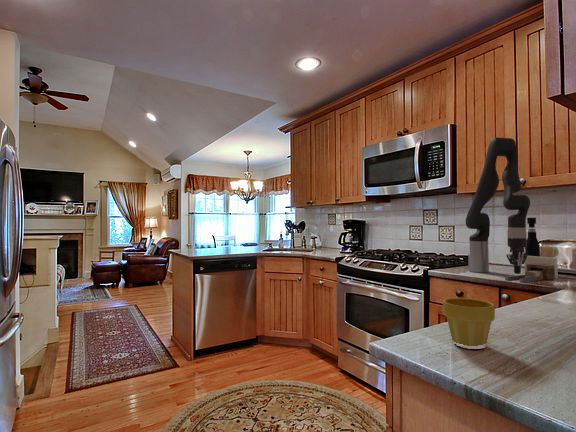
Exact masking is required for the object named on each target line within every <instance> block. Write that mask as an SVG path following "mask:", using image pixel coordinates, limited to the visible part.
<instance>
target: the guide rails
mask: <svg viewBox="0 0 576 432" xmlns="http://www.w3.org/2000/svg"><path fill="white" fill-rule="evenodd" d="M504 280H505V281H514V280H519V283H522V284H525V283H530V282H538V281H541V280H540V277H530V278H525V274H517V275H516V274H515V275H507V276H504Z"/></svg>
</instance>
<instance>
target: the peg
mask: <svg viewBox="0 0 576 432" xmlns="http://www.w3.org/2000/svg"><path fill="white" fill-rule="evenodd" d="M524 275H525V278H530V277H540V280H539V281H542V280H544V279H543V270H534V271H525V270H524Z"/></svg>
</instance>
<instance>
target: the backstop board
mask: <svg viewBox="0 0 576 432" xmlns="http://www.w3.org/2000/svg"><path fill="white" fill-rule="evenodd" d="M527 264H545V265H554V278H553V279H554V280H558V279H559V274H558V272H559V271H558V258H557V257H548V256H547V257H545V256H540V257H537V256H527V258H526V260H525V263H524V272H525V271H527Z"/></svg>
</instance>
